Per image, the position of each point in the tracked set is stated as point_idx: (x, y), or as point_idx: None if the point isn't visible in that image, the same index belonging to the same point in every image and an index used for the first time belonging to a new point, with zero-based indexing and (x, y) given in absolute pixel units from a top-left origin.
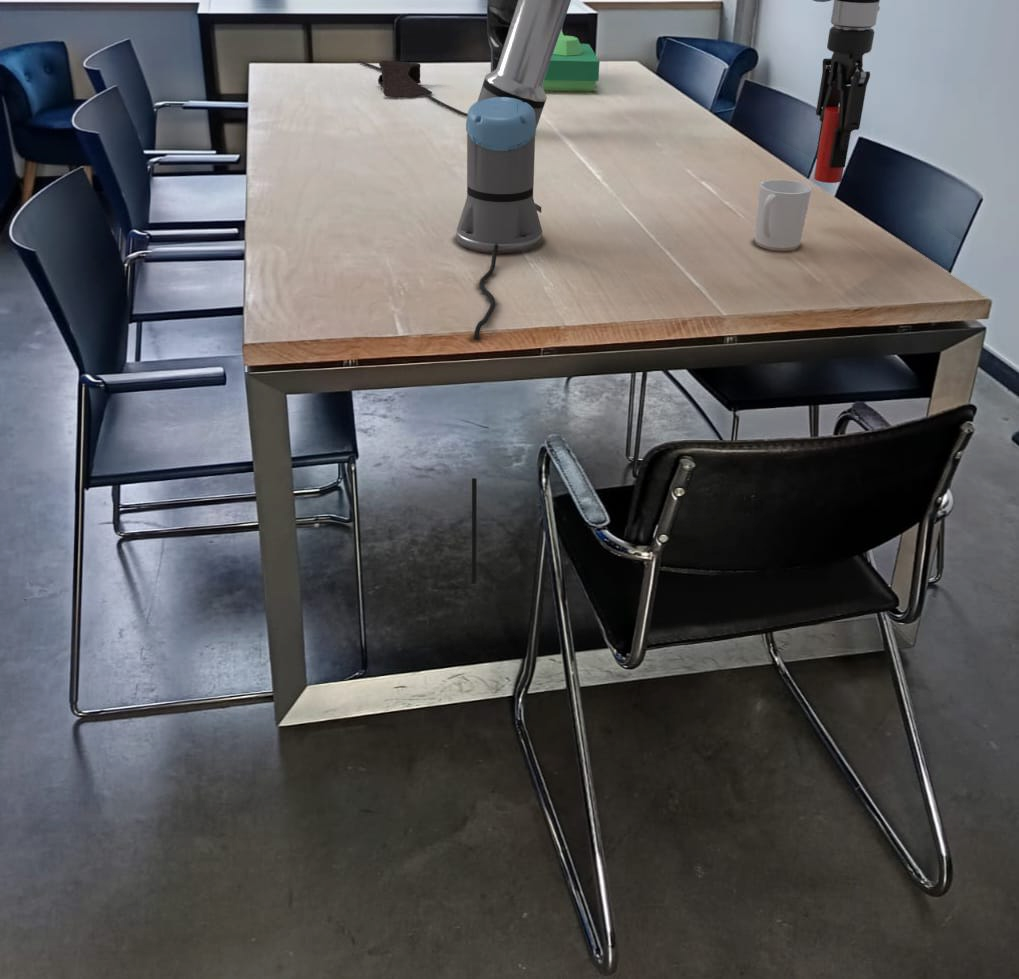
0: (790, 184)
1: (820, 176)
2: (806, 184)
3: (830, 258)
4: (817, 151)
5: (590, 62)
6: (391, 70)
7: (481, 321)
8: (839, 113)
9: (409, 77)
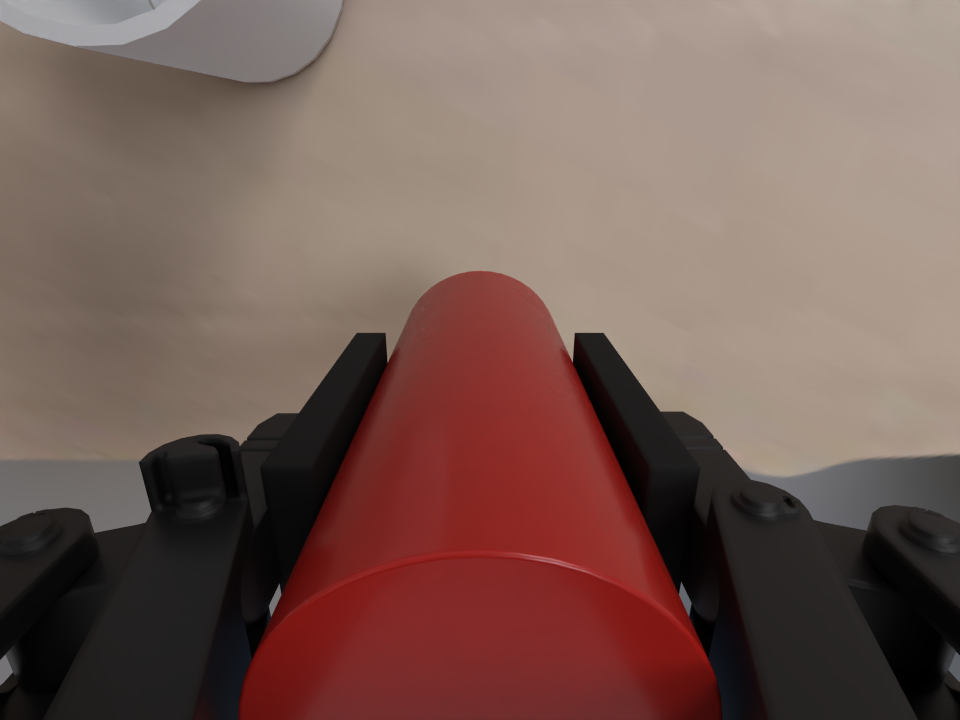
0: None
1: (437, 287)
2: (116, 34)
3: (84, 148)
4: (601, 350)
5: None
6: None
7: None
8: (192, 647)
9: None
